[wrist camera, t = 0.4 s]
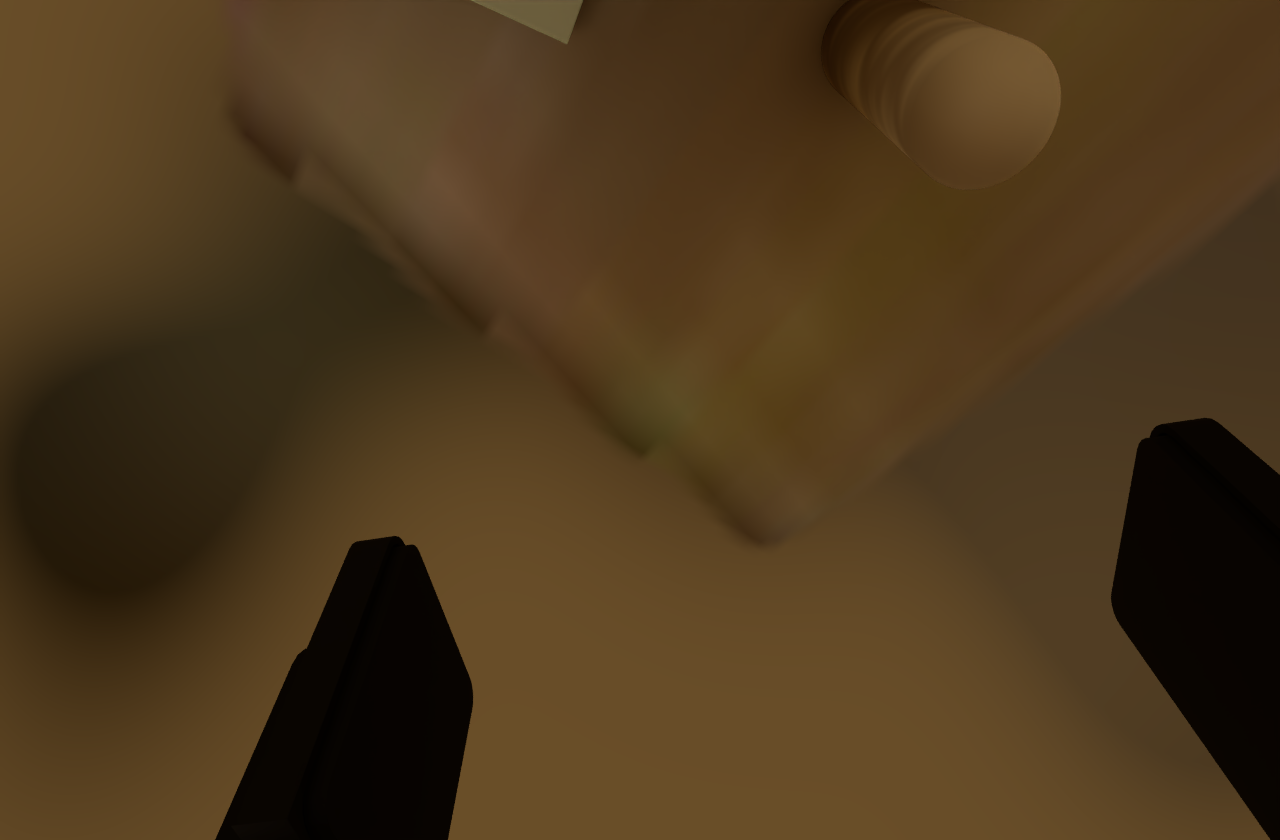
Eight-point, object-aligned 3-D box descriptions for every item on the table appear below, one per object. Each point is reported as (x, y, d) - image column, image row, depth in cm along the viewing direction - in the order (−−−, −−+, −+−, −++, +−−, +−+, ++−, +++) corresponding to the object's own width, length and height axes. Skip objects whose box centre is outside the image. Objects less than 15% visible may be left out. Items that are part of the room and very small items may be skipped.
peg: (855, -29, 31) (966, 8, 21) (944, 17, 32) (1092, 75, 22) (802, 75, 33) (881, 156, 23) (888, 116, 34) (1000, 211, 24)
